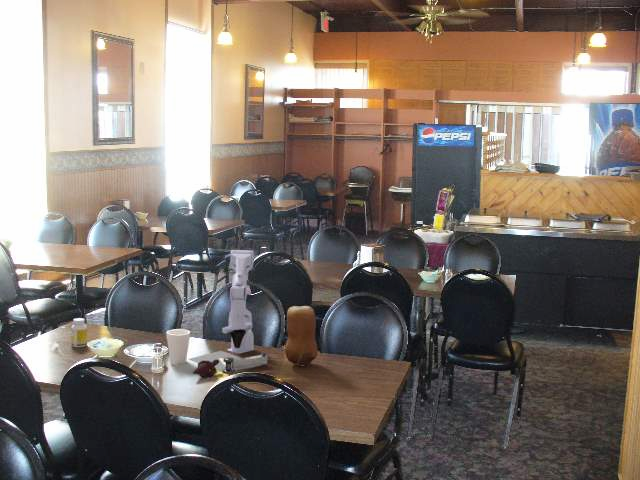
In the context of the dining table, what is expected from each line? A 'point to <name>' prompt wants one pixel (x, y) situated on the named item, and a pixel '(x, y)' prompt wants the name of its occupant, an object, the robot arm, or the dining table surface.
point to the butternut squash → (301, 335)
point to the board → (219, 355)
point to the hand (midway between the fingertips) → (237, 347)
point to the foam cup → (178, 345)
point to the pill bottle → (79, 333)
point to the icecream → (206, 368)
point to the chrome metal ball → (228, 368)
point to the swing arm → (246, 361)
